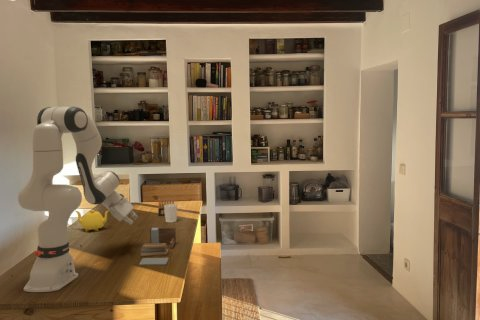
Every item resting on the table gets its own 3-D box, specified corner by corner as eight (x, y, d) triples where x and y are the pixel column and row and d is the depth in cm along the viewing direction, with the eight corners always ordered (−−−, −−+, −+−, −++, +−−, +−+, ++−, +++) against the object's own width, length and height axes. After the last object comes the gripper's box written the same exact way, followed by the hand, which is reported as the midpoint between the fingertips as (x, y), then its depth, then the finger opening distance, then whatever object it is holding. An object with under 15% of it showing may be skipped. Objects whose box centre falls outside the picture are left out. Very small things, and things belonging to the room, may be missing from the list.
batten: (157, 249, 215) (157, 229, 214) (151, 249, 215) (150, 230, 214) (159, 247, 219) (158, 227, 218) (153, 247, 219) (152, 227, 218)
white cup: (178, 219, 275) (177, 203, 274) (176, 222, 267) (176, 206, 266) (165, 219, 274) (165, 204, 273) (163, 223, 267) (163, 206, 266)
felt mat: (166, 265, 193) (166, 263, 193) (139, 265, 193) (138, 264, 193) (168, 258, 201) (168, 257, 201) (142, 259, 201) (142, 258, 201)
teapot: (114, 225, 263) (113, 206, 262) (107, 232, 248) (106, 212, 247) (81, 226, 263) (80, 207, 261) (72, 232, 248) (70, 213, 247)
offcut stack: (166, 255, 206) (165, 246, 205) (140, 256, 206) (140, 246, 205) (167, 252, 211) (167, 242, 211) (142, 252, 211) (142, 243, 211)
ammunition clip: (158, 216, 285) (157, 198, 283) (158, 215, 287) (158, 197, 285) (174, 215, 285) (174, 197, 283) (175, 215, 286) (174, 197, 285)
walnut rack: (173, 248, 217) (172, 232, 216) (147, 248, 216) (146, 233, 216) (176, 242, 226) (175, 227, 225) (150, 243, 226) (150, 227, 225)
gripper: (112, 201, 204) (134, 221, 205) (123, 193, 224) (143, 211, 225) (103, 211, 204) (125, 231, 205) (114, 202, 224) (134, 220, 226)
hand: (134, 220), depth 216 cm, fingers open, 8 cm apart
